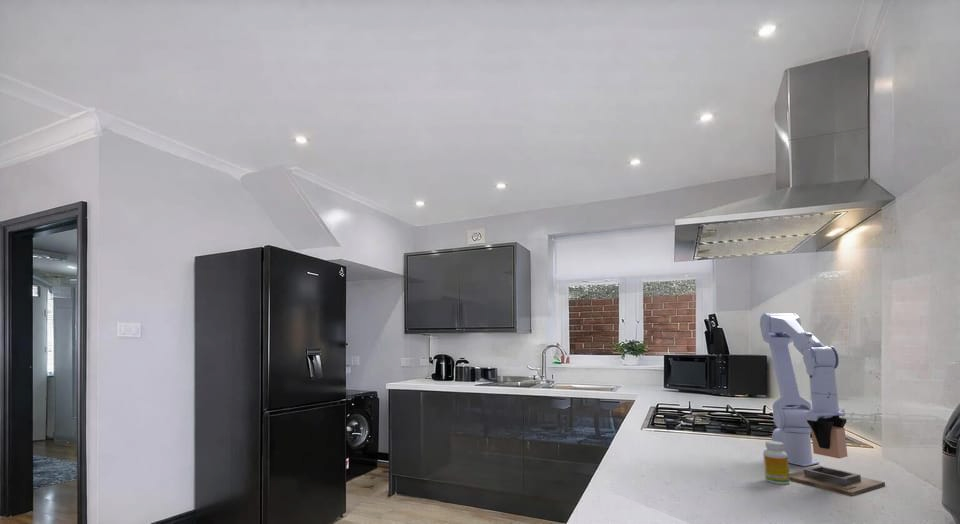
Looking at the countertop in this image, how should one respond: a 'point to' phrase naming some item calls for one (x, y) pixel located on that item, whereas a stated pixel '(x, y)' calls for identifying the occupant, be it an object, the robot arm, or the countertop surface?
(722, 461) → the countertop surface
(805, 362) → the robot arm
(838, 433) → the plug block
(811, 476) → the socket board
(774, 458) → the supplement bottle
